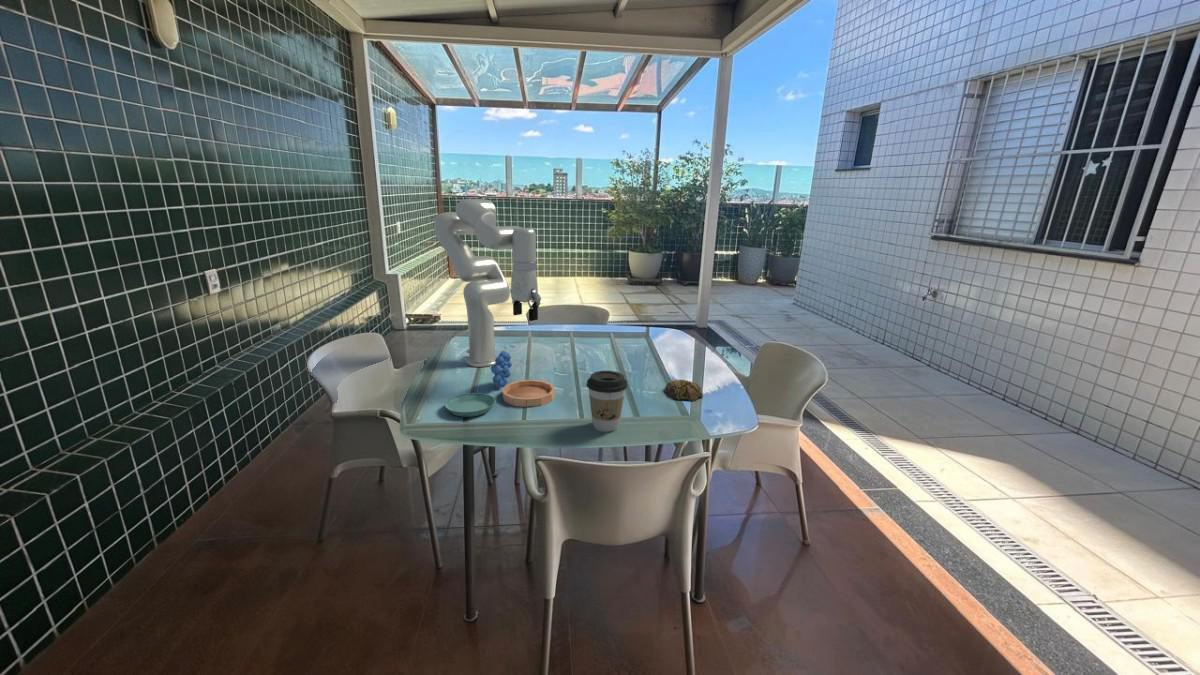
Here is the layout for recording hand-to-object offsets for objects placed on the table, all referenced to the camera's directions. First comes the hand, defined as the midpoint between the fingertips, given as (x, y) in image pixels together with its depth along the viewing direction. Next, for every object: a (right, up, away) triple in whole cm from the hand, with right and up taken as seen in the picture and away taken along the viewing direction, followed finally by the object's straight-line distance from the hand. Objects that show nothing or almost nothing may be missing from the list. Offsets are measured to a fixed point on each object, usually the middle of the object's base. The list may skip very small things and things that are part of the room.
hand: (525, 317), depth 163 cm
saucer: (-14, -29, -18) cm, 36 cm away
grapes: (-9, -23, +1) cm, 25 cm away
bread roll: (+53, -26, -2) cm, 59 cm away
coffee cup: (+27, -32, -27) cm, 50 cm away
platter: (+2, -26, -7) cm, 27 cm away
